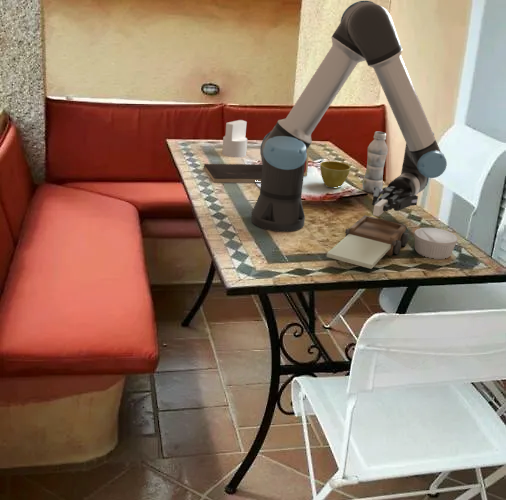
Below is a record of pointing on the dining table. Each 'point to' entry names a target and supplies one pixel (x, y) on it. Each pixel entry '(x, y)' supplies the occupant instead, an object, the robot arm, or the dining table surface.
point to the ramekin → (434, 242)
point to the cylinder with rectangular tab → (235, 139)
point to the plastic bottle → (375, 162)
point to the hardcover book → (234, 172)
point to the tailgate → (359, 251)
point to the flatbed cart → (380, 232)
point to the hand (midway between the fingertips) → (376, 210)
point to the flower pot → (334, 173)
